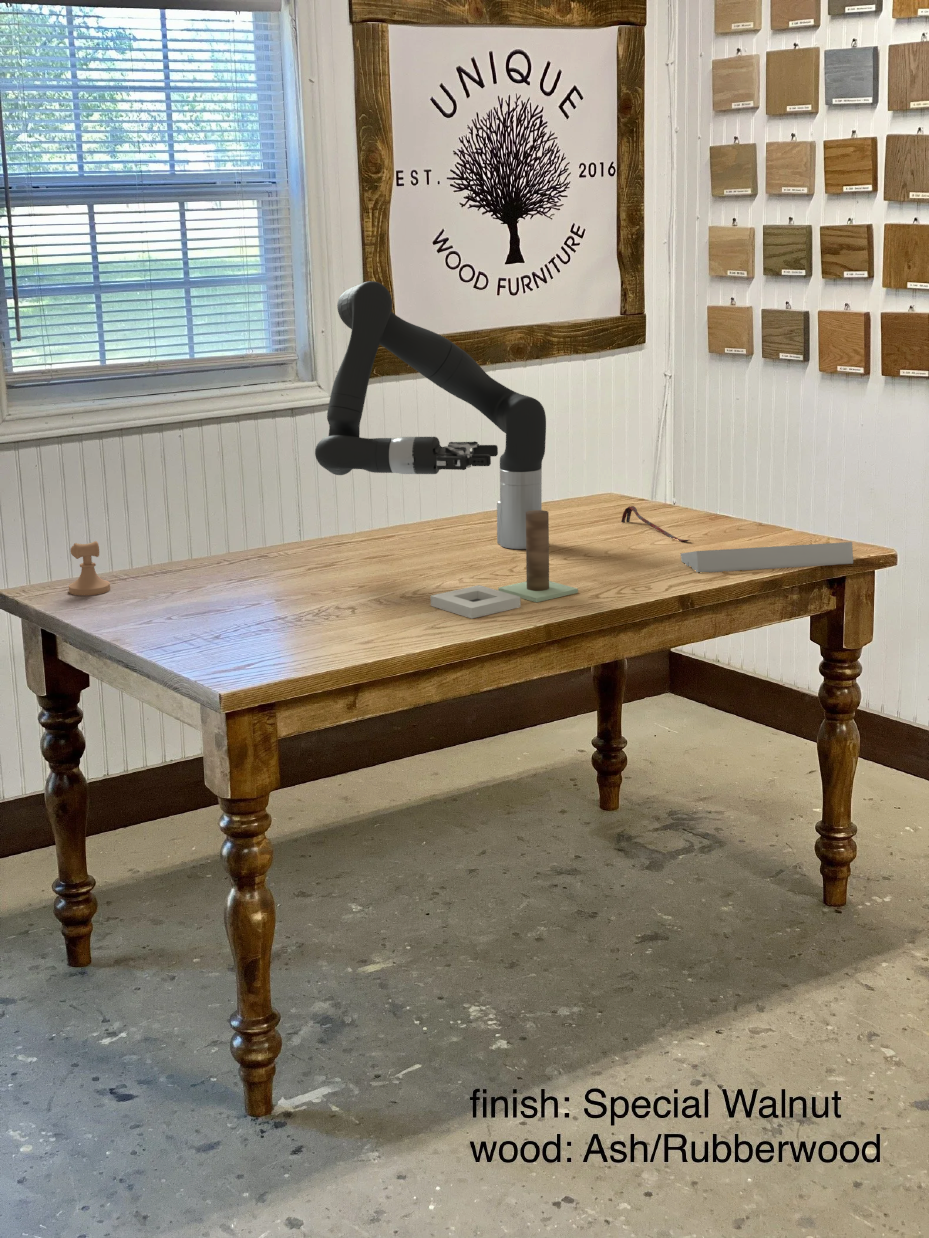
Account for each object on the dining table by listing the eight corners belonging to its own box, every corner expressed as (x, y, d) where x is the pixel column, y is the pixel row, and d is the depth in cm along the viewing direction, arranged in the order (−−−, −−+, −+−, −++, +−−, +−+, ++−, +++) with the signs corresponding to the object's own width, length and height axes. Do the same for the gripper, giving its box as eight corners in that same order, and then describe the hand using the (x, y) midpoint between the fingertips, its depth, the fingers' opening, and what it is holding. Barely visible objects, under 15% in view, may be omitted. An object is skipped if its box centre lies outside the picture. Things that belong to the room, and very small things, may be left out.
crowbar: (620, 523, 346) (622, 503, 344) (628, 522, 347) (630, 502, 345) (681, 560, 325) (684, 539, 323) (690, 558, 326) (692, 537, 324)
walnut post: (522, 587, 284) (520, 512, 280) (538, 583, 286) (537, 509, 282) (537, 592, 280) (536, 515, 276) (553, 587, 283) (553, 512, 279)
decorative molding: (681, 576, 307) (698, 574, 297) (680, 553, 307) (696, 551, 297) (832, 566, 313) (853, 564, 303) (831, 544, 313) (852, 541, 303)
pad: (498, 591, 284) (498, 587, 284) (539, 582, 291) (539, 578, 291) (536, 602, 276) (536, 598, 276) (578, 592, 283) (578, 588, 283)
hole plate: (430, 605, 275) (430, 595, 274) (479, 595, 282) (479, 585, 281) (471, 618, 266) (471, 608, 265) (520, 607, 273) (520, 596, 272)
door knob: (109, 544, 284) (68, 548, 281) (113, 592, 287) (72, 597, 284) (102, 536, 291) (62, 540, 288) (106, 583, 294) (66, 588, 291)
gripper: (423, 465, 301) (500, 465, 298) (408, 482, 287) (488, 482, 284) (421, 429, 298) (499, 429, 295) (405, 444, 285) (487, 444, 282)
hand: (494, 455), depth 290 cm, fingers open, 8 cm apart
